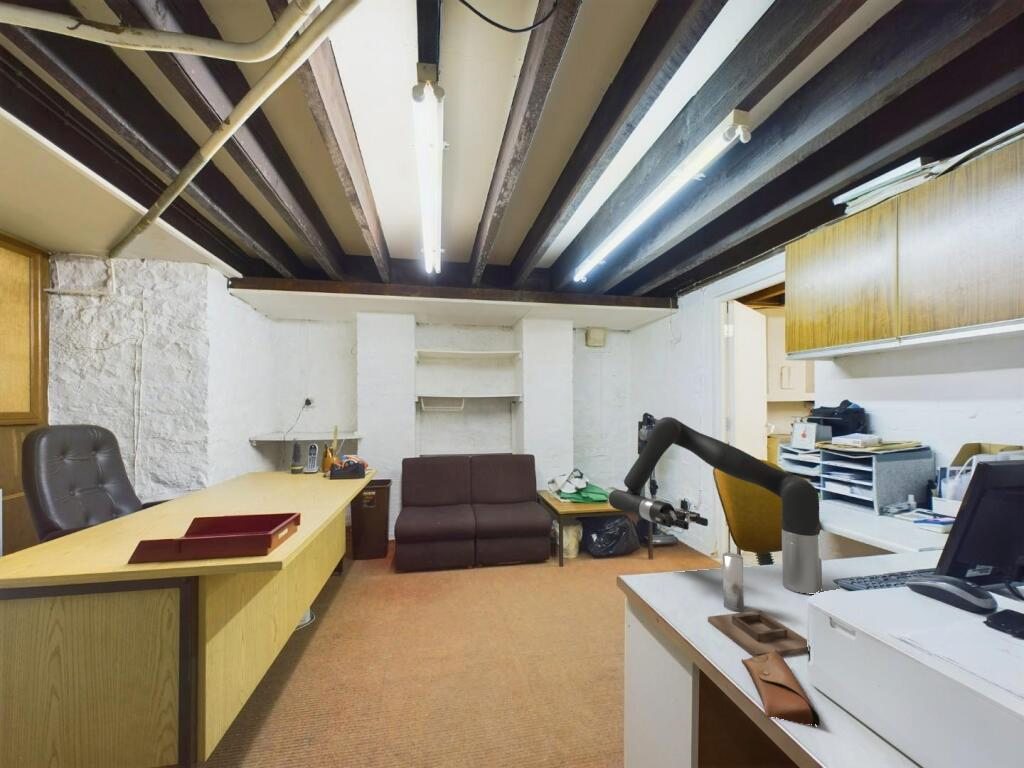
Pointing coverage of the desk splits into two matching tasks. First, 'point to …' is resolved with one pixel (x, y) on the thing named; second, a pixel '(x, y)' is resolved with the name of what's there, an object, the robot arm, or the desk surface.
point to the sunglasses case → (780, 689)
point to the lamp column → (733, 582)
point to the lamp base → (759, 633)
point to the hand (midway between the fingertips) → (697, 524)
